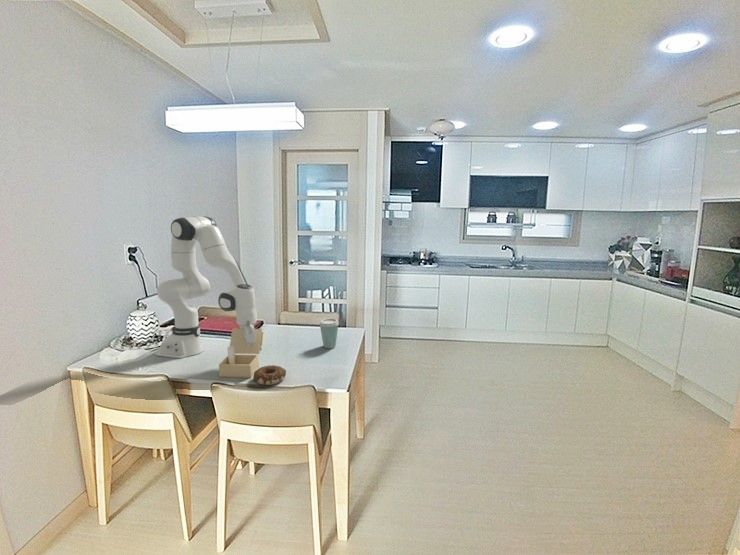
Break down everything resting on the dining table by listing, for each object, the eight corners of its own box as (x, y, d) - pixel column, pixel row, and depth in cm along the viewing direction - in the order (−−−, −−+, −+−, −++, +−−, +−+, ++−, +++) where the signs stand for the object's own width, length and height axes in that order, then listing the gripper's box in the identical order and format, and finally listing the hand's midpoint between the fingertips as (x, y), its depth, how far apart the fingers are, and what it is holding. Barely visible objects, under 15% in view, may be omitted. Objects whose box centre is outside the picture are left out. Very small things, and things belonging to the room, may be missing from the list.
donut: (273, 389, 164) (273, 378, 163) (247, 383, 169) (246, 372, 168) (292, 376, 177) (292, 365, 176) (267, 371, 182) (267, 360, 181)
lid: (232, 328, 189) (232, 328, 189) (228, 353, 185) (229, 353, 185) (261, 328, 189) (262, 329, 189) (259, 353, 185) (259, 353, 185)
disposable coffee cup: (329, 351, 208) (329, 324, 205) (315, 346, 214) (315, 320, 211) (342, 346, 216) (342, 320, 213) (328, 341, 222) (328, 316, 220)
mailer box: (219, 377, 174) (218, 353, 172) (229, 366, 186) (228, 344, 184) (250, 378, 174) (250, 354, 172) (258, 367, 186) (258, 345, 184)
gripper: (257, 323, 175) (259, 352, 177) (249, 313, 193) (251, 340, 195) (243, 325, 172) (245, 355, 175) (236, 314, 190) (238, 342, 193)
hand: (248, 347), depth 185 cm, fingers closed, pressing on lid
